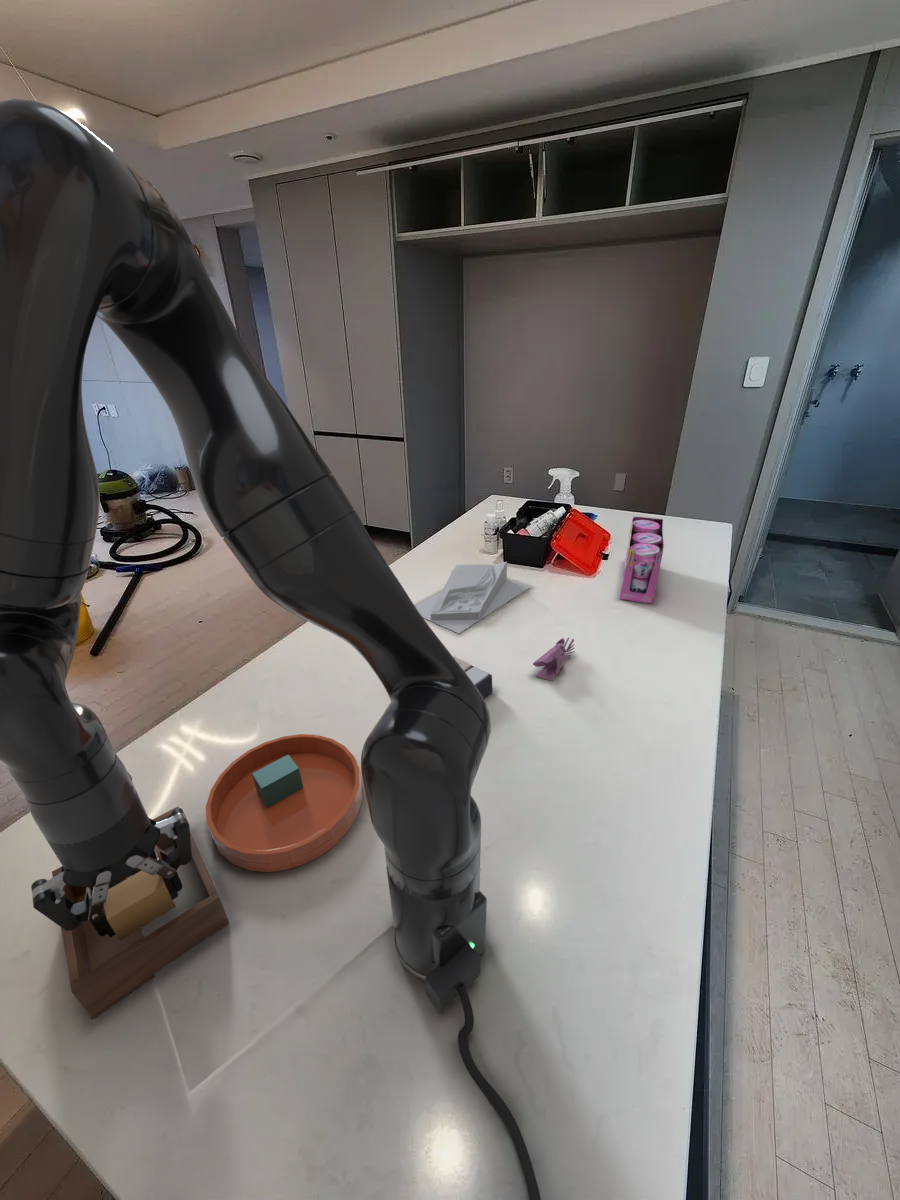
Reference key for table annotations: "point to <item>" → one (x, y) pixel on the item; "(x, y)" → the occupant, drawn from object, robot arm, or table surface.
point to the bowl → (285, 805)
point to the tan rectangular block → (136, 903)
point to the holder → (134, 944)
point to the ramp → (470, 596)
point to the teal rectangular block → (277, 780)
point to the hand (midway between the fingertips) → (144, 909)
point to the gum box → (642, 560)
